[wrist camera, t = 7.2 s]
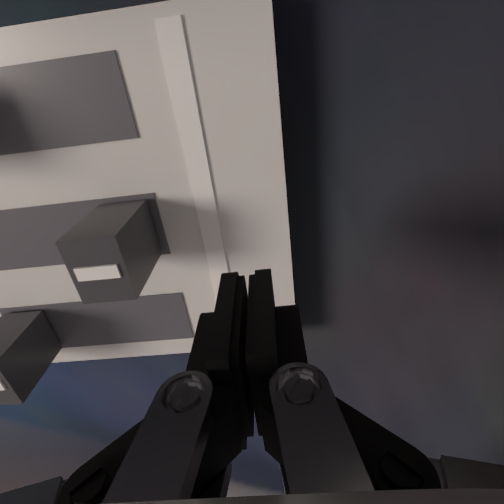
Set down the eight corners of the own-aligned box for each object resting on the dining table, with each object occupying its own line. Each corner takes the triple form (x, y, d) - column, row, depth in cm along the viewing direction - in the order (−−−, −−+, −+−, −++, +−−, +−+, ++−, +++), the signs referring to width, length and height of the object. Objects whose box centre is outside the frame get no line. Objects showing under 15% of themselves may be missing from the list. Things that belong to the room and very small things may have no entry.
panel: (269, -6, 14) (270, -17, 12) (295, 323, 23) (298, 345, 21) (-233, 73, 16) (-297, 74, 14) (-33, 348, 25) (-57, 371, 23)
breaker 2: (146, 199, 16) (113, 237, 13) (161, 253, 18) (136, 300, 14) (98, 204, 16) (53, 243, 13) (118, 257, 18) (81, 305, 14)
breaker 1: (41, 310, 20) (-7, 364, 16) (61, 347, 21) (21, 405, 18) (3, 313, 20) (-53, 368, 16) (26, 350, 21) (-21, 407, 18)
